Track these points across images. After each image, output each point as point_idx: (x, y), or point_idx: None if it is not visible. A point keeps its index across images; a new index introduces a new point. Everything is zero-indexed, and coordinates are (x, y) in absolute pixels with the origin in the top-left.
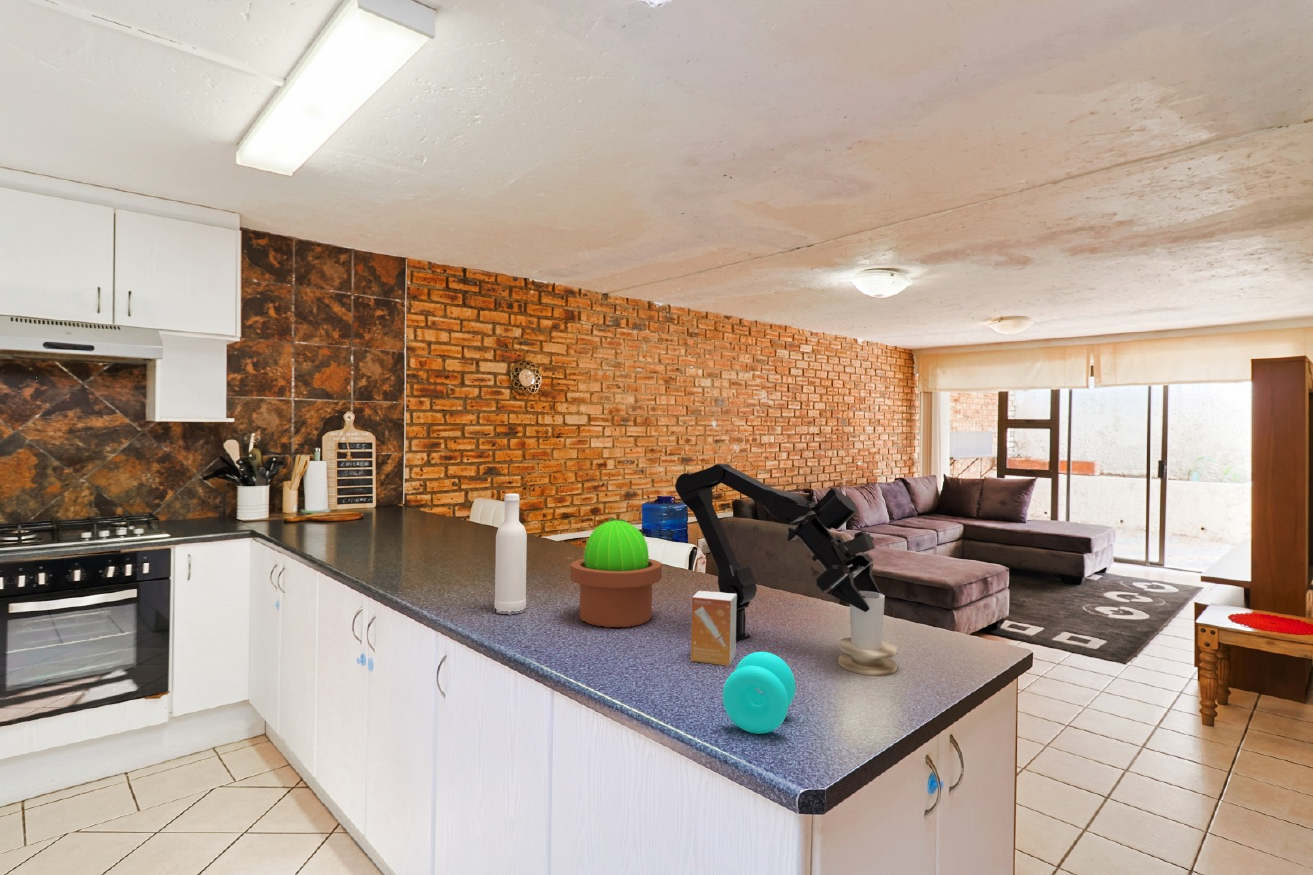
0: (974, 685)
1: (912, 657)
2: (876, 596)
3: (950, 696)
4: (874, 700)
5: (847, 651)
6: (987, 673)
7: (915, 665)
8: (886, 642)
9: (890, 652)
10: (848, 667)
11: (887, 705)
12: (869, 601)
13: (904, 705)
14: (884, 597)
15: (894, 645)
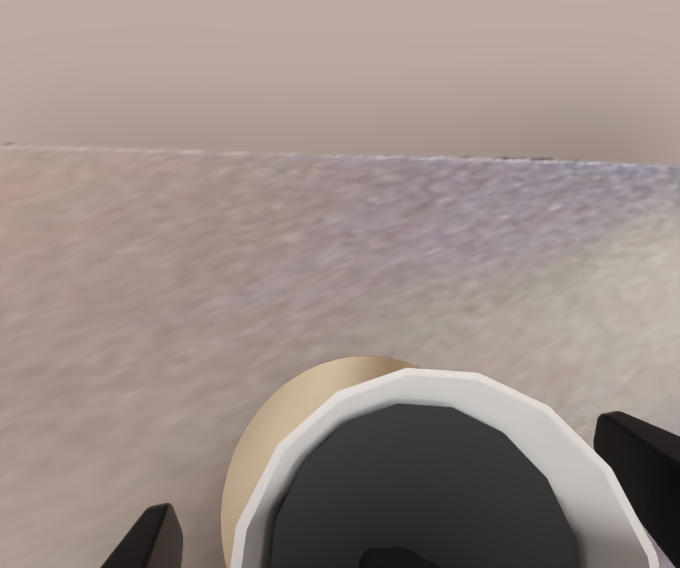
0: (274, 163)
1: (120, 405)
2: (255, 543)
3: (413, 178)
4: (631, 305)
5: None
6: (135, 169)
7: (215, 354)
8: (248, 455)
9: (386, 365)
10: None
11: (626, 264)
12: (571, 452)
13: (582, 234)
14: (346, 391)
15: (268, 401)
